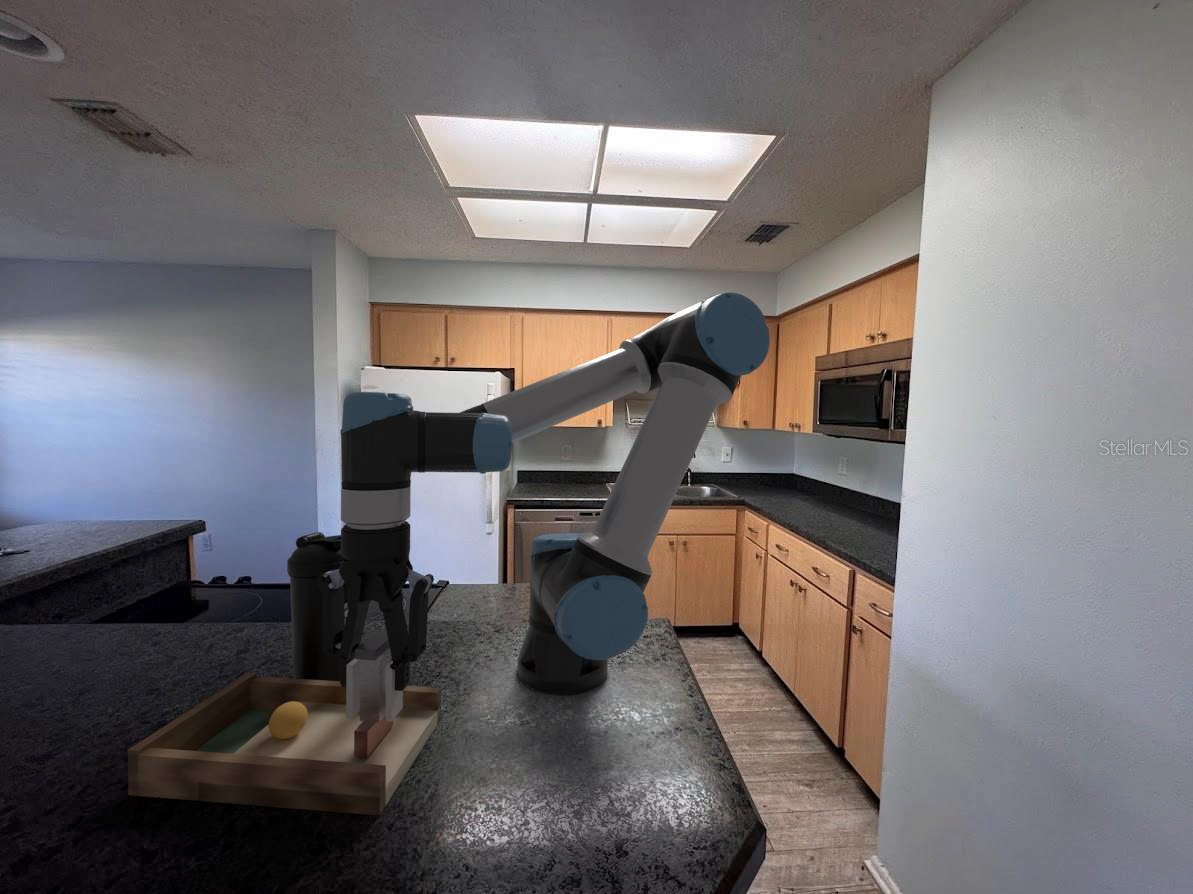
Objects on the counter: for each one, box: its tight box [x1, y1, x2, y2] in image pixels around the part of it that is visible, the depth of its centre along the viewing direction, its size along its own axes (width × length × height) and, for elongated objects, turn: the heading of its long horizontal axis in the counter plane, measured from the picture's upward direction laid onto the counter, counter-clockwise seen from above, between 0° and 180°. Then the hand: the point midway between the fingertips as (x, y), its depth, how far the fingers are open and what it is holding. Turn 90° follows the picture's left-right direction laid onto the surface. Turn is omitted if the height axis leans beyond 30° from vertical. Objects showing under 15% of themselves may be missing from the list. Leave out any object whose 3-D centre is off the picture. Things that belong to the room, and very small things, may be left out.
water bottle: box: [286, 531, 350, 681], centre depth 73 cm, size 10×10×23 cm
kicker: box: [354, 632, 394, 757], centre depth 56 cm, size 2×6×12 cm, turn 176°
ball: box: [269, 701, 308, 739], centre depth 57 cm, size 4×4×4 cm
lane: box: [127, 671, 442, 816], centre depth 57 cm, size 28×16×5 cm, turn 86°
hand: (375, 712), depth 56 cm, fingers open, 4 cm apart
